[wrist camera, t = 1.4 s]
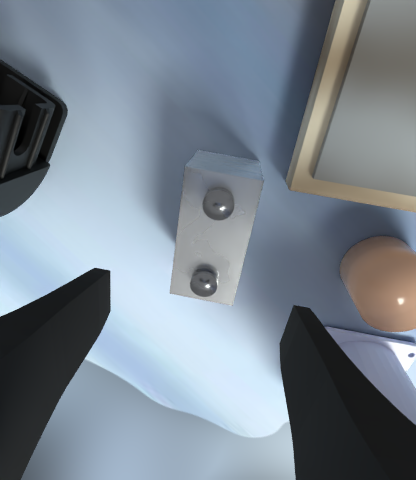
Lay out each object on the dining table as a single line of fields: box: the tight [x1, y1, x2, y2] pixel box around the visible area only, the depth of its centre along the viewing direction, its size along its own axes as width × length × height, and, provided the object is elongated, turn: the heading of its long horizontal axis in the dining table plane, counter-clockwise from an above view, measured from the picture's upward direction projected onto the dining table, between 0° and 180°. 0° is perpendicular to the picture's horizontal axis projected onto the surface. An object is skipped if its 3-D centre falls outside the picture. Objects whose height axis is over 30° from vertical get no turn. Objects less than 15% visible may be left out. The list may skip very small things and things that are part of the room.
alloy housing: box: [170, 150, 264, 306], centre depth 18 cm, size 8×4×6 cm, turn 171°
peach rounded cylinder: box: [339, 236, 416, 332], centre depth 19 cm, size 5×5×4 cm
